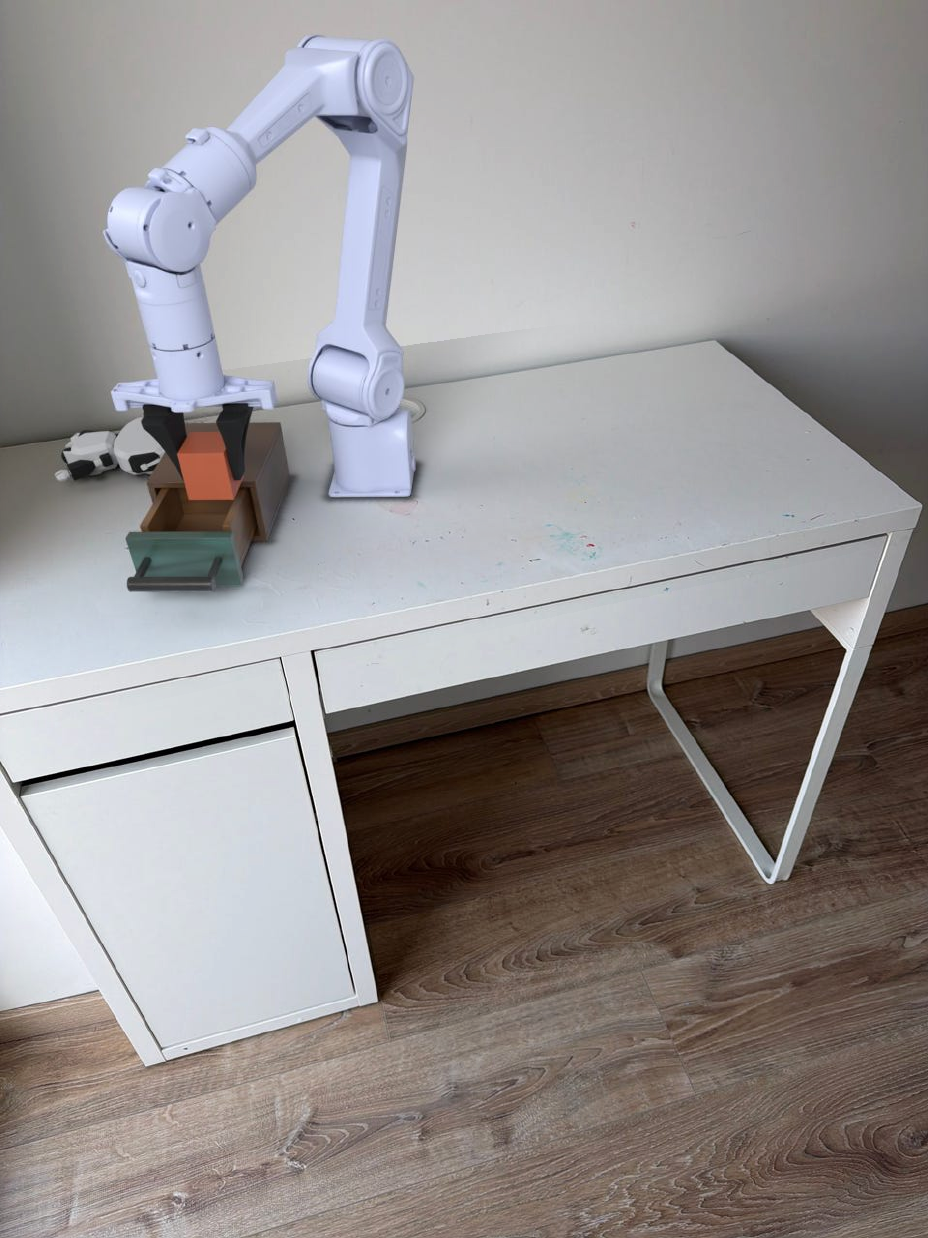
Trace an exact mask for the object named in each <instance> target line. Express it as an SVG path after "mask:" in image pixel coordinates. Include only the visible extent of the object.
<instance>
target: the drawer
mask: <svg viewBox="0 0 928 1238" xmlns="http://www.w3.org/2000/svg"><path fill="white" fill-rule="evenodd" d="M257 525H258V524H257V519H256V514H255V509H254V504H253V500H252V495H251V490H250V487H239V489H238V491H237V494H236V496H235V498H234V500H189V498H188V495H187V491H186V488H162V489H161V490H160V492H159V494H158V495H157V497H156V499H155V501H154V502H153V503H152V504H151V505H150V508H149V509H148V511H147V513H146V514H145V516H144V518H143V520H142V521H141V523H140V524H139V528H140V531H129V532H128V533H127V534H126V536H125V542H126V544H127V548H128V551H129V554H130V558H131V560H132V564H133V566H134V570H135V574H134V575H133V576H128V577H127V579H126V589H127V591H128V592H130V593H131V592H132V593H135V592H141V593H142V592H147V593H151V592H152V593H154V592H155V593H157V592H158V593H159V592H160V593H163V592H165V593H167V592H168V593H169V592H170V593H172V592H174V593H175V592H177V593H179V592H181V593H183V592H185V593H187V592H188V593H189V592H192V593H193V592H199V593H201V592H202V593H203V592H205V593H206V592H207V593H210V592H212V593H213V592H214V591H215V590H216V586H217V587H219V586H223V587H225V586H226V587H227V586H228V587H230V586H235V587H236V586H237V587H238V586H239V587H241V586H242V585H243V581H244V579H245V578H244V573H243V570H242V566H243V563H244V560H245V558H246V555H247V553H248V550H249V548H250V545H251V543H252V541H251V540H252V538H253V535H254V533H255V530H256V528H257Z"/></svg>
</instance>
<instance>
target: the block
mask: <svg viewBox="0 0 928 1238" xmlns="http://www.w3.org/2000/svg"><path fill="white" fill-rule="evenodd" d="M177 456H178V460H179V464H180V467H181V471H182V475H183V479H184V483H185V487H186V491H187V495H188V498H189V500H234V498H235V496H236V494H237V491H238V489H239V487H240V484H241V482H242V480H243V478H244V475H243V476H242V478H241V480H234V479H233V476H232V473H231V469H230V466H229V460H228V454H227V450H226V447H225V444H224V441H223V438H222V436H221V433H220V432H189V434H188V436H187V438H186V439H185V441H184V443H183V444H182V446H181V448H180V450H179V451H178V453H177Z"/></svg>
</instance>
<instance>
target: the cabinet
mask: <svg viewBox="0 0 928 1238" xmlns="http://www.w3.org/2000/svg"><path fill="white" fill-rule="evenodd" d="M185 428H186V434H187V436H188V434H189V432H220V431H219V429H218V427H217V424H216V422H185ZM285 446H286V445H285V441H284V434H283V429H282V422H279V421H271V422H268V421H267V422H266V421H265V422H263V421H262V422H261V421H259V422H253V421H252V422H249V426H248V431H247V436H246V443H245V455H244V464H245V471H244V474H243V475H244V478H243V480H242V482H241V484H240V487H250V490H251V495H252V500H253V504H254V509H255V514H256V519H257V524H258V525H257V528H256V530H255V533H254V535H253V538H252V540H251V542H268V540H269V538H270V535H271V532H272V529H273V527H274V524H275V521H276V518H277V515H278V514H279V511H280V507H281V505H282V502H283V500H284V496H285V494H286V491H287V488H288V486H289V483H290V481H291V474H290V469H289V463H288V457H287V452H286V451H287V450H286V447H285ZM146 485H147V488H148V489H147V490H148V493H149V496H150V499H151V503H152V504H153V502H154V501H155V499H156V497H157V495H158V494H159V492H160V490H161V489H162V488H186V487H185V483H184V481H183V480H182V478H181V476H180V474H179V473H178V471H177V469H176V467H175V465H174V464H173V462H172V461H171V459H170V458H169V456H168V455H167V453H166V452H165V453H164V455H163V456H162V458H161V460H160V461H159V463H158V465H157V466H156V468H155V469H154V471H153V473H152V474H150V476H149V478H148V479H147V480H146Z"/></svg>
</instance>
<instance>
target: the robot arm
mask: <svg viewBox="0 0 928 1238" xmlns="http://www.w3.org/2000/svg"><path fill="white" fill-rule="evenodd" d="M414 82H415V77H414V74H413V73H412V70H411V68H410V66H409V64H408V62H407V60H406V58H405V56H404V54H403V52H402V50H401V48H400V47H399V46H398V45H397V44H396V43H395V42H394V41H392V40H391V39H388V38H380V37H378V38H376V39H366V38H352V37H351V38H350V37H336V36H326V35H323V34H318V33H311V34H308V35H306V36H304V37H303V38H302V39H301V40H300V41H299V42H298V44H297V45H296V46H295V47H293V48H291V49H289V50H288V51H286V52H285V54H284V59H283V67H281V68H280V70H279V71H278V72H277V73H276V74H275V75H274V76H273V77H272V79H271V80H270V81H269V82H268V83H267V84H266V85H265V86H264V88H262V89H261V91H260V92H259V93H258V94H257V95H255V97H254V99H253V100H251V101H250V103H249V104H248V105H247V106H246V107H245V108H244V110H243V111H242V112H241V113H240V114H239V115H238V116H237V117H236V118H235V119H234V120H233V121H232V123H230V125H229V126H228V127H227V128H226V129H223V128H220V127H218V126H206V127H204V128H197V127H193V128H192V129H191V130H190V131H189V132H188V133H187V134H185V137H184V138H185V140H186V142H187V143H186V144H185V145H184V146H183V147H182V148H181V149H180V150H179V151H178V152H177V153H176V154H174V156H172V158H171V159H170V160H168V161H167V162H166V163H165V164H164V165H163V166H162V167H161V168H159V167H154V168H153V169H152V170H151V171H150V172H149V173H148V174H147V177H148V180H146V183H145V185H144V187H142V186H130V187H129V186H128V187H126V188H125V189H123V190H121V191H120V192H118V194H116V196H115V197H114V198H113V200H112V201H111V203H110V205H109V209H108V212H107V217H106V218H107V219H106V221H107V228H106V229H103V231H102V233H103V236H104V239H105V241H106V244H107V245H108V247H109V248H110V250H111V251H112V252H113V253H114V254H115V255H116V256H117V257H118V258H119V259H121V261H122V262H123V263H124V266H125V268H126V273H127V276H128V278H129V279H130V280H131V283H132V287H133V292H134V294H135V295H134V296H135V299H136V303H137V306H138V310H139V311H138V312H139V314H140V319H141V322H142V326H143V330H144V334H145V337H146V341H147V344H148V348H149V352H150V357H151V361H152V364H153V368H154V371H155V376H156V378H152V379H143V380H139V381H138V380H137V381H131V382H130V381H128V382H118V383H117V384H116V385H115V386H114V387H113V389H112V390H111V391H110V395H111V399H112V401H113V405H114V408H115V411H116V412H127V411H129V410H130V409H140V408H141V409H142V411H143V414H142V415H143V416H142V417H143V419H142V420H141V424H142V426H143V428H144V430H145V431H146V432H148V433H149V434H150V435H151V436H152V437H153V438H154V439H155V440H156V441H157V442H158V443H159V444H160V446H161V447H162V448H163V449H164V451H165V452H166V453H167V455H168V456H169V458H170V459H171V461H172V462H173V464H174V465H175V467H176V469H177V471H178V473H179V474H180V476H181V478H182V480H183V481H184V479H183V475H182V471H181V467H180V464H179V460H178V456H177V453H178V451H179V450H180V448H181V446H182V444H183V443H184V441H185V439H186V438H187V434H186V428H185V423H186V422H185V415H184V414H185V413H193V412H195V411H196V409H199V408H222V411H220V412H219V414H218V416H217V418H216V420H215V423H216V424H217V427H218V429H219V431H220V433H221V436H222V438H223V441H224V444H225V447H226V450H227V454H228V460H229V466H230V469H231V473H232V476H233V479H234V480H241V478H242V476H243V474H244V471H245V464H244V455H245V443H246V436H247V431H248V426H249V423H251V418H252V414H253V411H254V408H255V407H261V409H262V410H265V411H267V410H274V409H275V406H276V405H277V402H278V396H277V389H276V385H275V381H274V380H261V379H260V380H259V379H252V378H245V377H238V376H234V375H233V376H232V375H225V374H224V373H223V366H222V363H221V358H220V353H219V347H218V343H217V339H216V334H215V329H214V325H213V319H212V313H211V309H210V305H209V300H208V295H207V291H206V285H205V281H204V277H203V271H202V266H201V264H202V263H204V260H205V259H206V257H207V255H208V251H209V249H210V244H211V237H212V234H213V233H214V232H215V231H216V227H217V225H218V224H219V223H220V222H222V220H223V219H225V218H226V216H227V215H229V213H231V212H232V211H233V210H234V209H235V208H236V207H237V206H238V205H239V204H240V203H241V202H242V201H243V200H244V199H245V198H246V197H247V196H248V194H249V193H251V191H253V190H254V189H255V188H256V185H257V179H258V178H257V177H258V175H257V165H258V164H259V163H260V162H262V161H263V160H264V159H265V158H267V157H268V156H269V155H270V154H271V153H272V152H274V151H275V150H276V149H277V148H279V146H281V145H282V144H283V143H284V142H286V141H287V140H288V139H289V138H290V137H292V136H293V135H294V134H295V133H297V132H298V131H299V130H300V129H302V127H304V126H305V125H306V124H307V123H309V122H310V121H312V119H313V118H316V119H317V120H318V121H319V122H321V123H322V124H323V125H324V126H325V127H326V128H327V129H328V130H329V131H330V132H332V133H333V135H335V136H336V137H338V139H339V141H340V142H341V144H342V146H343V147H344V149H345V150H346V151H347V153H348V155H349V169H348V178H347V179H348V180H347V188H346V189H347V190H346V199H345V210H344V220H343V231H342V241H341V250H340V262H339V270H338V271H339V273H338V281H337V282H338V283H337V292H336V293H337V294H336V304H335V313H334V314H335V315H334V319H333V321H332V322H330V323H329V324H327V325H326V326H325V327H324V328H323V329H321V330H320V331H319V332H318V333H317V334H316V341H315V348H314V351H313V354H312V357H311V358H310V361H309V363H308V366H307V373H306V379H307V380H306V381H307V386H308V389H309V391H310V393H311V395H312V396H313V397H314V398H316V399H317V400H318V401H320V402H321V403H320V404H321V410H322V411H324V412H326V417H327V423H328V433H329V440H330V447H331V454H332V461H333V468H334V469H333V470H334V472H333V475H332V479H331V482H330V485H329V488H328V489H329V490H328V497H330V498H408V497H410V496H411V494H412V488H413V482H414V481H413V480H414V475H415V472H416V466H417V463H416V456H415V449H414V435H413V422H412V421H413V420H412V413H411V410H410V409H405V408H399V407H400V405H401V403H402V401H403V398H404V395H405V389H406V388H405V385H406V383H405V376H404V370H403V359H404V350H403V348H402V347H401V345H400V344H399V343H398V341H397V340H396V339H395V337H394V336H393V334H391V332H390V331H389V330H388V328H387V319H388V310H389V301H390V294H391V286H392V276H393V270H394V269H393V268H394V260H395V252H396V244H397V243H396V242H397V237H398V236H397V235H398V227H399V219H400V218H399V217H400V211H401V210H400V209H401V202H402V192H403V186H404V185H403V184H404V177H405V169H406V160H407V151H408V130H409V123H410V114H411V105H412V98H413V89H414Z"/></svg>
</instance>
